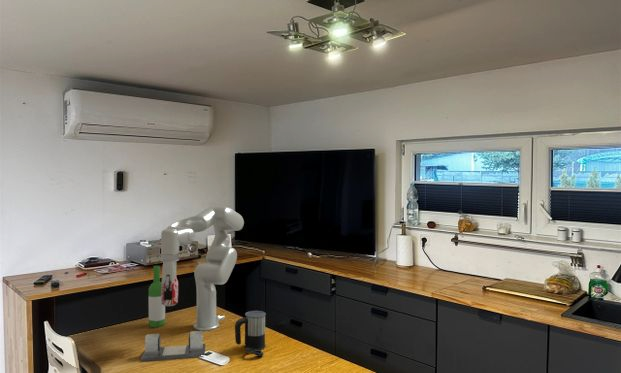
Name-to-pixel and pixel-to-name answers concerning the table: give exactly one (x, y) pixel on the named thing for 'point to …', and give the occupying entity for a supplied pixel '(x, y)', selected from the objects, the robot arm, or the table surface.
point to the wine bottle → (156, 301)
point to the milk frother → (252, 332)
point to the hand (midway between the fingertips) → (169, 297)
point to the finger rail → (173, 348)
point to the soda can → (174, 294)
